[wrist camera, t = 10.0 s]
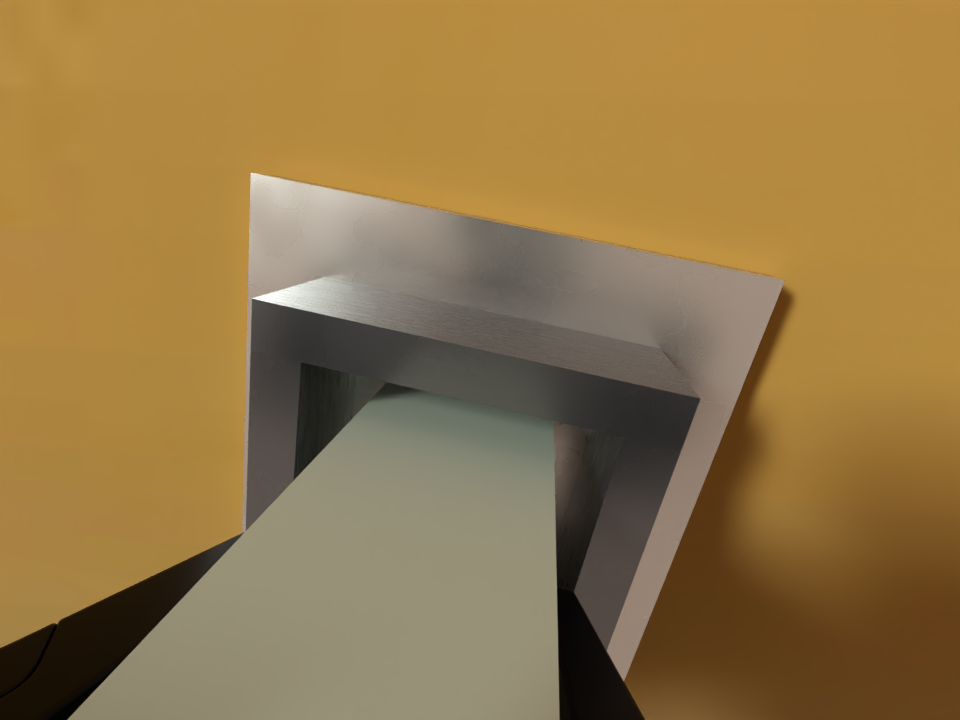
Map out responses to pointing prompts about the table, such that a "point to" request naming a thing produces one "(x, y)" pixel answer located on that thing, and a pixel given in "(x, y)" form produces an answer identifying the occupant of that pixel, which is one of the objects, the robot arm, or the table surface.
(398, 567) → the rail post
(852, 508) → the table surface
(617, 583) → the bracket
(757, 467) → the table surface
